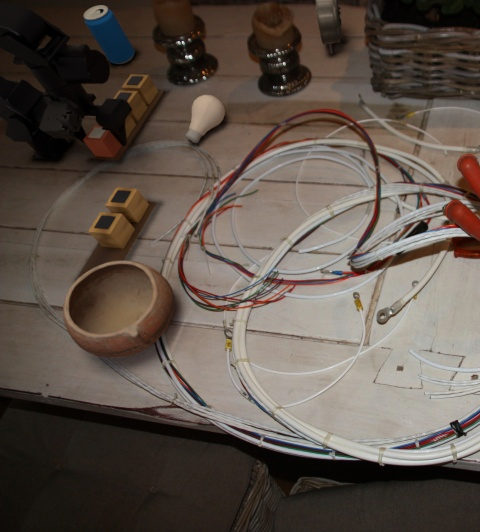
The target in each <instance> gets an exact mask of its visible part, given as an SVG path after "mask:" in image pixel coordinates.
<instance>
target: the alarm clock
mask: <svg viewBox="0 0 480 532" xmlns="http://www.w3.org/2000/svg"><path fill="white" fill-rule="evenodd" d="M314 2H315V11H316V17H317V18H316V19H317V23H318V24H317V25H318V30H319V34H320V39H321V43H322V44H323V45H328V47H329V51H330V55H333V54H334V51H333V44H337V43H340V42H341V41H343V42H346V40H345V38H344V37H343V31H342V25H343V23H342V18H341V13H342V11H340V10H341V6H339V2H340V1H339V0H314Z"/></svg>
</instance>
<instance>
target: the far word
mask: <svg viewBox="0 0 480 532" xmlns="http://www.w3.org/2000/svg"><path fill="white" fill-rule="evenodd" d="M121 89H122V90H120V89H119V90H118V92H117V93H116V94H115V95H114V97H113V98H112V99H124V100H127V102H128V103H129V105H130V106H131V108H132V111H131V112H130V114H129V115H128V117H127V118H126V120H125V128H126V138H127V144H126V146H121V148H120V149H119V151H118V152H117V154H116V155H115V157H100V156H95V155H94V153H93V152H91V153H92V154H91V155H90V156H89V159H90V160H91V161H102V162H103V161H105V162H117V163H121V161H122V160H123V158H124V157H125V155H126V153H127V152H128V150H129V149H130V147H131V146H132V144H133V143H134V141H135V139H136V138H137V136H138V135H139V134H140V132H141V130H142V129H143V128H144V126H145V124H146V123H147V121H148V120H149V118H150V117H151V115H152V114H153V112H154V111H155V109H156V108H157V106H158V104H159V103H160V101H161V100H162V98H163V97H164V96H165V94H166V91H165V90H163V89H162V90H161V89H157V87H156V85H155V84H154V82H153V80H152V77H151V76H150V75H149V74H137V73H136V74H135V73H134V74H133V73H131V74H130V75H129V77H128V78H127V79H126V81H124V83H123V84H122V86H121Z"/></svg>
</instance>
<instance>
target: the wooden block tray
mask: <svg viewBox="0 0 480 532" xmlns="http://www.w3.org/2000/svg"><path fill="white" fill-rule="evenodd" d="M157 204H158V202H157V201H148V200H147V199H146V198H145V197H144V196H143V194H142V193H141V191H140V190H139V189H138V188H133V187H132V188H131V187H121V186H116V187H115V189H114V190H113V192H112V194H111V195H110V196H109V198H108V200H107V201H106V203H105V204H104V206H105V207H106V209H107V210H108V211H109V212H106V211H100V212H99V214H98V215H97V217H96V219H94V222H93V223H92V225H91V226H90V228H89V229H88V233H89V234H90V235H91V236H92V237H93V238H94V239H95V241H97V242H98V243H97V244H96V246H95V248H94V250H93V251H92V253H91V254H90V255H89V258H88V259H87V261H86V262H85V264H84V265H83V267H82V269H81V271H80V272H79V274H78V276H77V277H78V278H80V277H81V276H82V275H83V274H85V273H86V272H88V271H89V270H91V269H93V268H94V267H97V266H99V265H101V264H105V263H108V262H112V261H124V260H125V259H126V258H127V256H128V254H129V252H130V251H131V249H132V247H133V246H134V244H135V242H136V240H137V238H138V237H139V235H140V233H141V232H142V230H143V228H144V227H145V225H146V223H147V221H148V220H149V218H150V216H151V214H152V212H153V211H154V209H155V207H156V205H157Z"/></svg>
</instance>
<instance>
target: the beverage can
mask: <svg viewBox="0 0 480 532" xmlns="http://www.w3.org/2000/svg"><path fill="white" fill-rule="evenodd" d="M83 18H84V22H85V25H86V27H87V28H88V30H89V32H90V33H91V34H92V36H93V38H94V40H95V41H96V42H97V44H98V45H99V47H100V48H101V50H102V53H103V54H104V55H105V57H106V58H107V60H108V62H110V63H111V64H116V65H123V64H126V63H128V62H130V61H131V60H132V59H133V58H134V55H135V53H136V51H135V49H134V47H133V45H132V43H131V41H130V40H129V38H128V36H127V35H126V33H125V31H124V29H123V28H122V26H121V24H120V23H119V21H118V19H117V18H116V16H115V14H114V12H113V11H112V10H111V9H110V8H109V7H108V6H106V5H103V4H101V5H95V6H92V7H90V8H88V9H87V10H86V11H84V12H83Z"/></svg>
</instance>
